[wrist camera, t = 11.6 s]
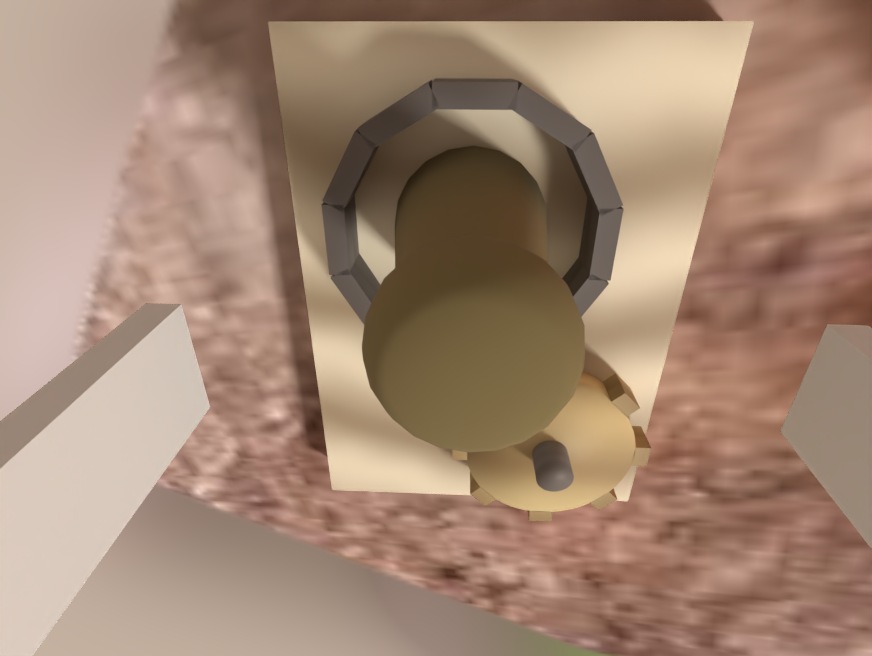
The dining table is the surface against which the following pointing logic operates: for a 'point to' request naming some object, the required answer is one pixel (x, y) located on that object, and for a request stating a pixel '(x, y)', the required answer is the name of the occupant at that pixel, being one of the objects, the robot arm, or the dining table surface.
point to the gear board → (565, 210)
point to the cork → (473, 309)
